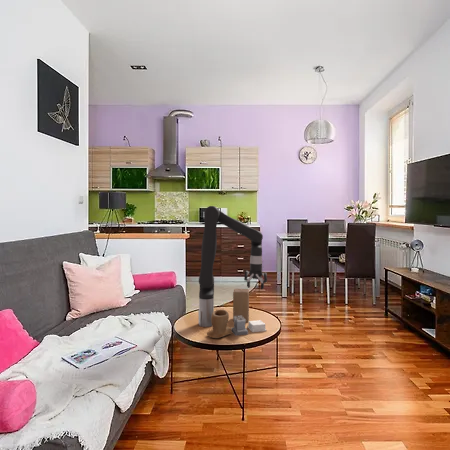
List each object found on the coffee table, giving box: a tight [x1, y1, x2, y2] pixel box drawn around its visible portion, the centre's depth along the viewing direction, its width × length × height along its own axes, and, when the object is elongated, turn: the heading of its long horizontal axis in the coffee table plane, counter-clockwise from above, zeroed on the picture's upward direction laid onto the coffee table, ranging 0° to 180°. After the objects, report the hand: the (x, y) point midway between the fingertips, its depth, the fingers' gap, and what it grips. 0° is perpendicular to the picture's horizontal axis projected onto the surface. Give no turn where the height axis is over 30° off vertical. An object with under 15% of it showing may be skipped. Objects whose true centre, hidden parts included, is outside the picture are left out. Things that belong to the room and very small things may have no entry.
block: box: [232, 288, 250, 323], centre depth 231 cm, size 10×10×20 cm
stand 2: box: [246, 319, 267, 333], centre depth 214 cm, size 9×9×4 cm
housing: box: [233, 315, 247, 332], centre depth 207 cm, size 5×8×7 cm, turn 15°
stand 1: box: [230, 326, 249, 336], centre depth 208 cm, size 8×8×2 cm
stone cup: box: [206, 309, 233, 339], centre depth 202 cm, size 15×12×15 cm
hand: (255, 288), depth 219 cm, fingers open, 8 cm apart
